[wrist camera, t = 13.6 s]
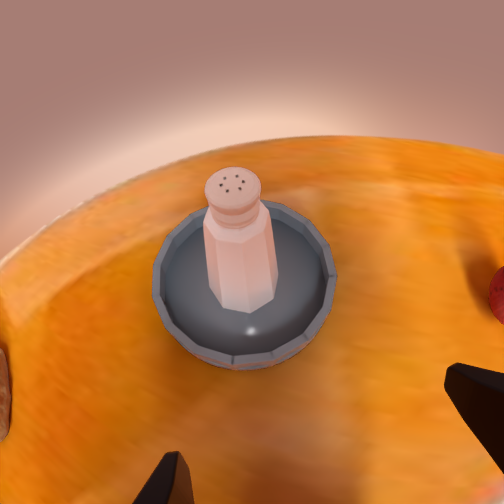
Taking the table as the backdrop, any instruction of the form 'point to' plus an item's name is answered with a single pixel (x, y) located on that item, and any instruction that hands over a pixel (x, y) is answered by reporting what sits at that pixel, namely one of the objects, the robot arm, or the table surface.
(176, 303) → the dish
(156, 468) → the robot arm
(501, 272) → the onion
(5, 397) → the pastry
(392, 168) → the table surface
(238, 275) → the pepper shaker
